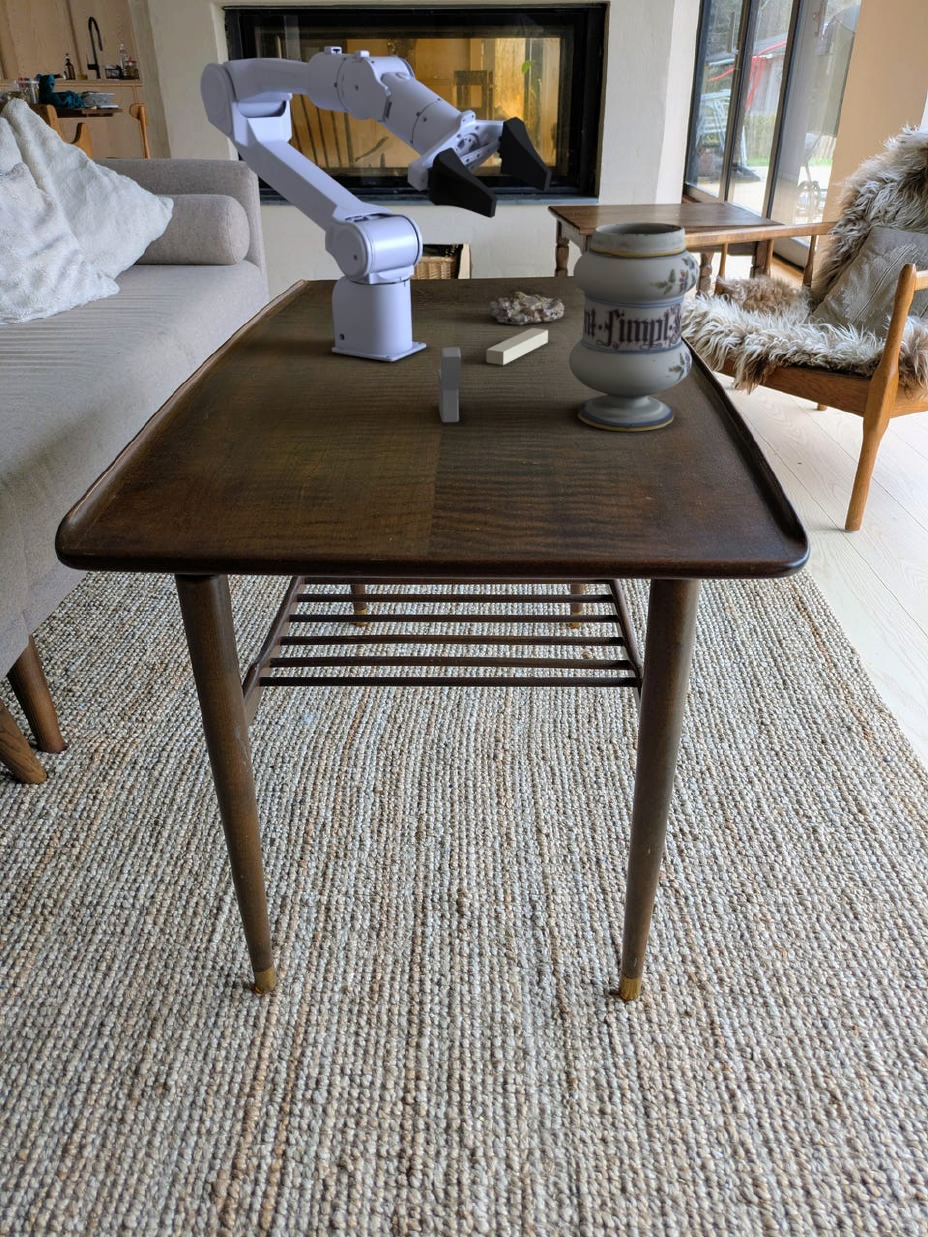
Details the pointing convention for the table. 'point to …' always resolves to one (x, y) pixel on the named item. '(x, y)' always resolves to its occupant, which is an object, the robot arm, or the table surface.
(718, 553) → the table surface
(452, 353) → the lighter
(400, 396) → the table surface
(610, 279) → the apothecary jar
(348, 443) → the table surface
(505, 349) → the strip
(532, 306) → the mineral rock
